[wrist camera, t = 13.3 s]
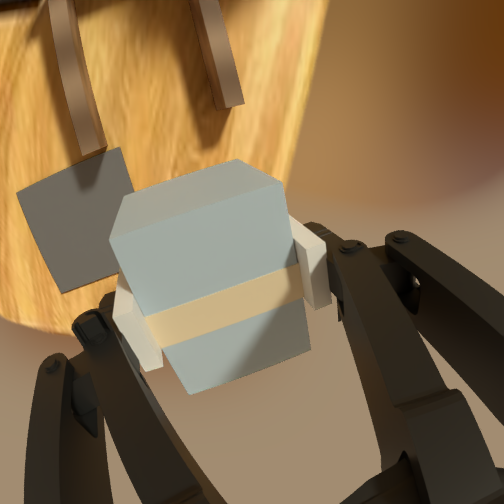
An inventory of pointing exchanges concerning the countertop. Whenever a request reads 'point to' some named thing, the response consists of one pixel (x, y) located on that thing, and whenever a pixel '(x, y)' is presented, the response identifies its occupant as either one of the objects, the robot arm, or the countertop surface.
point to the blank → (214, 272)
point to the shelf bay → (77, 75)
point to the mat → (78, 218)
